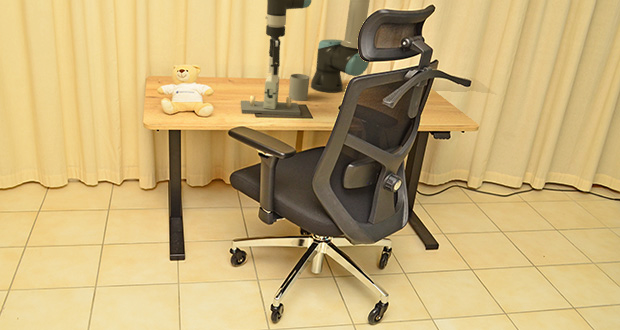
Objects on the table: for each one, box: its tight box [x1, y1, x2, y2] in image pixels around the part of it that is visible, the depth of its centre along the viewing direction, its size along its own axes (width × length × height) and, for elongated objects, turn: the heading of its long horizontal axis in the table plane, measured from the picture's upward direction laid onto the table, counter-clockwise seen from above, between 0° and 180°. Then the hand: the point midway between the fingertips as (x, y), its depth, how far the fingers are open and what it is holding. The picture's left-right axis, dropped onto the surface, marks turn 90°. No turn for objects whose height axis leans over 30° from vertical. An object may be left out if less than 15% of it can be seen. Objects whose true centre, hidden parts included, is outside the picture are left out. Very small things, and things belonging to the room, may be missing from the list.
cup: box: [288, 73, 310, 102], centre depth 268 cm, size 8×8×10 cm
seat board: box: [240, 95, 301, 117], centre depth 251 cm, size 24×12×6 cm, turn 98°
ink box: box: [263, 75, 280, 109], centre depth 249 cm, size 9×5×12 cm, turn 175°
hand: (273, 77), depth 247 cm, fingers open, 13 cm apart
